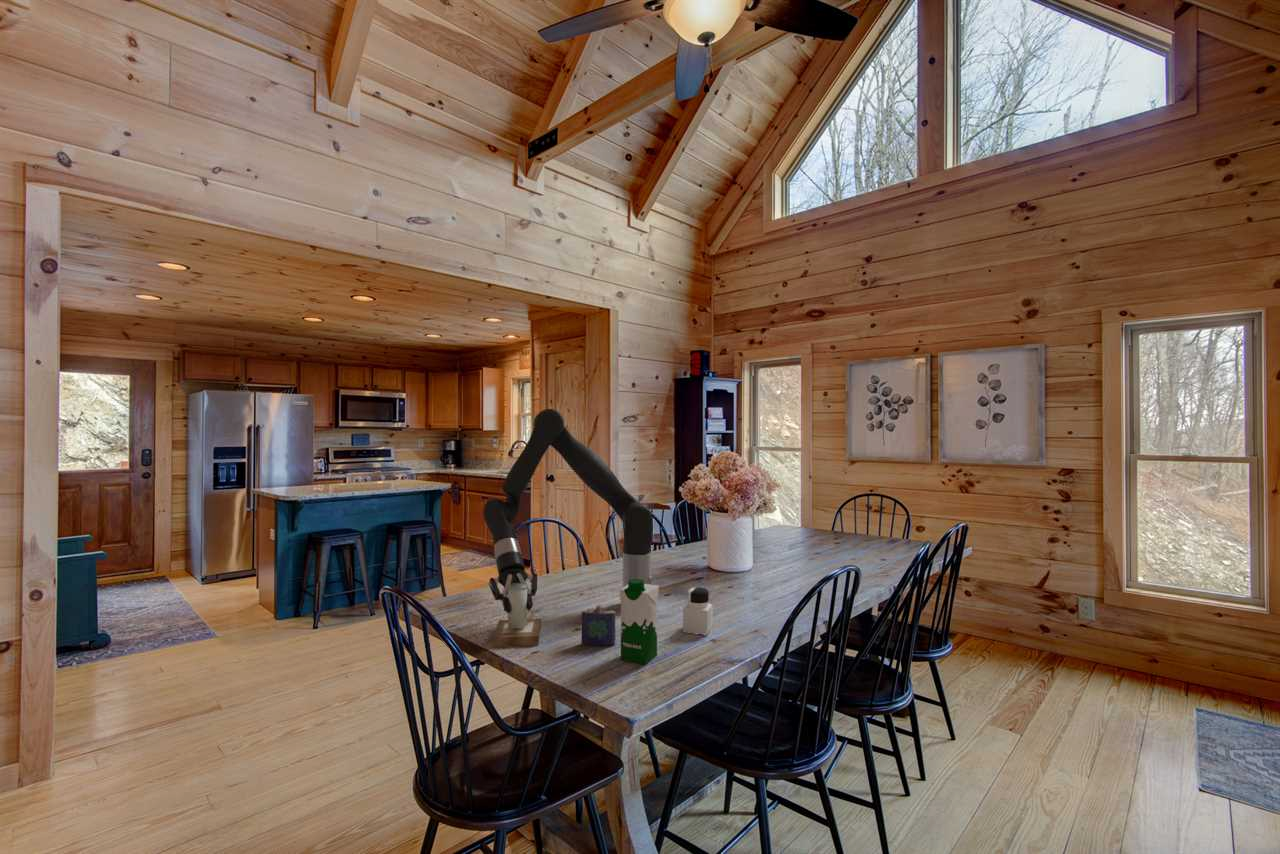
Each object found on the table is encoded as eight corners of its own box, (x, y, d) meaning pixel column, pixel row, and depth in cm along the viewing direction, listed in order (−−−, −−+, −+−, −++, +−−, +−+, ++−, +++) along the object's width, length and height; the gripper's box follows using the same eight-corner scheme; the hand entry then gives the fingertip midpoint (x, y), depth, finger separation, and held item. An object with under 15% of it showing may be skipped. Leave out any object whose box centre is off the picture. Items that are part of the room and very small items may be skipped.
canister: (528, 621, 167) (528, 582, 167) (526, 628, 161) (526, 588, 161) (508, 622, 166) (508, 583, 166) (506, 628, 161) (506, 588, 161)
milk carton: (615, 661, 148) (616, 581, 148) (631, 648, 156) (631, 573, 156) (647, 667, 145) (648, 585, 144) (662, 654, 153) (662, 577, 153)
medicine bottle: (712, 627, 173) (712, 586, 173) (707, 636, 166) (707, 593, 166) (688, 625, 175) (689, 584, 175) (682, 633, 168) (682, 591, 168)
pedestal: (541, 627, 172) (541, 618, 172) (538, 645, 158) (538, 635, 158) (499, 628, 171) (499, 619, 171) (492, 646, 157) (492, 637, 157)
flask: (615, 643, 161) (616, 603, 160) (615, 647, 158) (615, 607, 157) (582, 642, 161) (582, 603, 161) (580, 646, 158) (580, 606, 158)
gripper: (486, 552, 167) (495, 606, 157) (535, 548, 174) (547, 600, 163) (482, 567, 172) (490, 620, 161) (530, 562, 178) (541, 613, 168)
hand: (519, 610), depth 162 cm, fingers closed on canister, 5 cm apart
